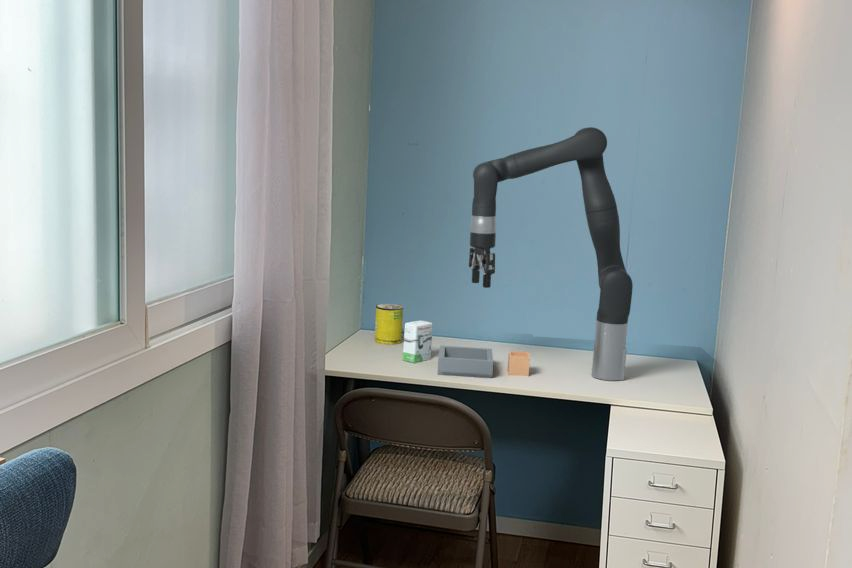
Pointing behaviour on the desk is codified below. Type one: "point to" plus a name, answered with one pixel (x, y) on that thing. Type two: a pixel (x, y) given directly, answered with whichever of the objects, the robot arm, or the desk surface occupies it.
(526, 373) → the box
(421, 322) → the ink box
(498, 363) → the desk surface
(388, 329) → the yellow tin can
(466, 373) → the big crate
